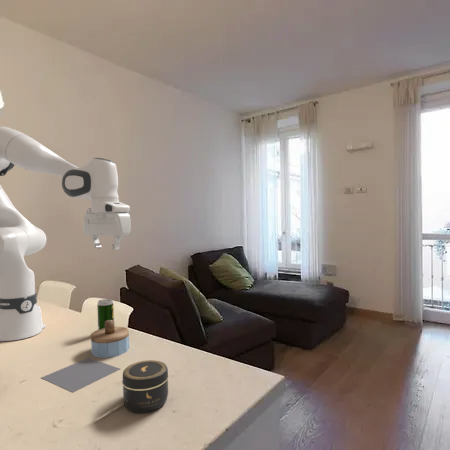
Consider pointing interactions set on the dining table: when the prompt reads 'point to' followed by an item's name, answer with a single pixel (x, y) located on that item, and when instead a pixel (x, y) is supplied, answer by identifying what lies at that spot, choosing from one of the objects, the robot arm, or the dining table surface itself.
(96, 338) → the lid
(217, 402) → the dining table surface
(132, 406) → the jar
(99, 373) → the mat
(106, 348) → the bowl
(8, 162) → the robot arm
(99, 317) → the beer can
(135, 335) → the dining table surface
